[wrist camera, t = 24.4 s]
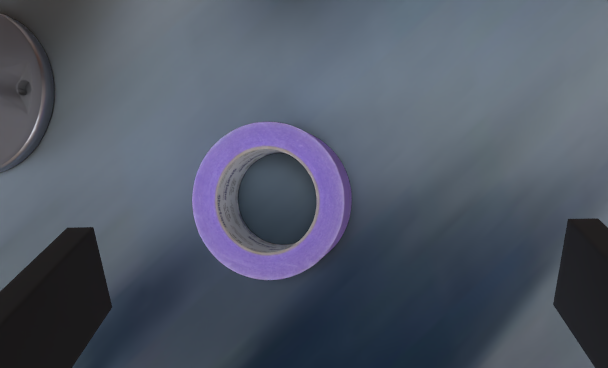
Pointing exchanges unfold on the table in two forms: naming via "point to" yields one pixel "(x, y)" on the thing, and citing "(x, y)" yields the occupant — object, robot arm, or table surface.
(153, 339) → the table surface
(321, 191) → the tape roll
